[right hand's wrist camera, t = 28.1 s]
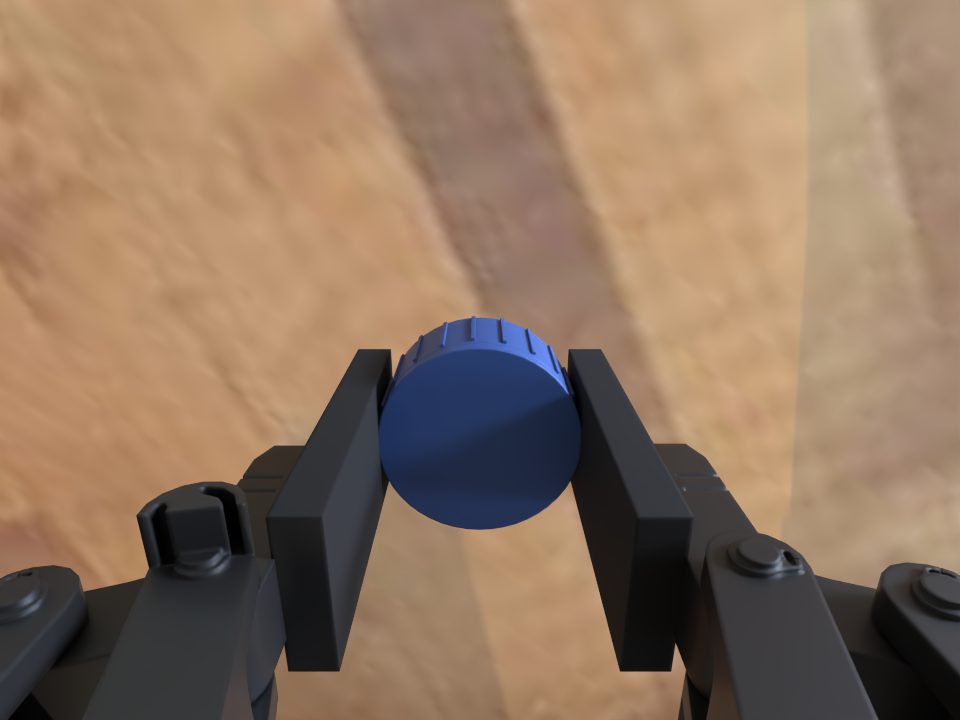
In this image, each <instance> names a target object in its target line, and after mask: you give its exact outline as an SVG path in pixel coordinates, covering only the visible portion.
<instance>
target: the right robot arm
mask: <svg viewBox="0 0 960 720" xmlns="http://www.w3.org/2000/svg"><path fill="white" fill-rule="evenodd" d="M567 375H568V377H569V380H570V383H571V386H572V388H573V391H574V394H575V397H573V399H574V402H575V405H576V408H577V411H578V414H579V417H580V421H581V441H580V455H579V463H578V466H577V469H576V471H575V473H574V475H573V477H572V479H571V484H572V488H573V492H574V496H575V500H576V503H577V507H578V511H579V515H580V519H581V523H582V526H583V530H584V534H585V538H586V542H587V546H588V550H589V553H590V557H591V561H592V565H593V569H594V573H595V577H596V580H597V584H598V588H599V592H600V596H601V600H602V604H603V607H604V611H605V615H606V619H607V623H608V627H609V631H610V634H611V638H612V642H613V646H614V650H615V654H616V658H617V661H618V665H619V669H620V671H665V672H671V669H672V662H673V656H674V649H675V642H676V645H677V647H678V650H679V652H680V655H681V658H682V660H683V663H684V665H685V668H686V673H685V679H684V685H683V691H682V698H681V704H680V710H679V716H678V720H960V575H958V574H956V573H954V572H952V571H949V570H946V569H943V568H942V569H941V568H939V567H935V566H931V565H926V564H916V563H901V564H895V565H890V566H889V567H888V568H887V569H886V570H885V571H883V572H882V573H881V576H880V580H879V583H878V587H877V589H873V588H869V587H864V586H859V585H854V584H850V583H845V582H840V581H836V580H831V579H827V578H824V577H820V576H817V575H814V573H813V571H812V569H811V567H810V566H809V564H808V563H807V562H806V560H805V559H804V558H803V556H802V555H801V554H800V553H798V552H797V551H796V550H794V549H793V548H792V547H790V546H789V545H787V544H786V543H784V542H782V541H779V540H777V539H775V538H773V537H770V536H768V535H765V534H760V533H758V532H757V531H756V529H755V528H754V527H753V525H752V524H751V522H750V521H749V519H748V518H747V516H746V515H745V514H744V512H743V511H742V509H741V508H740V506H739V505H738V503H737V502H736V501H735V499H734V498H733V496H732V495H731V493H730V492H729V491H726V486H725V485H724V483H723V482H722V480H721V479H720V478H719V477H717V473H716V472H715V470H714V469H713V467H712V466H711V465H710V463H709V462H708V460H707V459H706V457H704V456H703V455H701V454H700V453H698V452H697V451H695V450H694V449H692V448H691V447H689V446H688V445H686V444H653V442H652V440H651V438H650V436H649V435H648V433H647V431H646V429H645V427H644V426H643V424H642V422H641V420H640V418H639V417H638V415H637V413H636V411H635V410H634V408H633V406H632V404H631V402H630V401H629V399H628V397H627V395H626V393H625V392H624V390H623V388H622V386H621V384H620V383H619V381H618V379H617V377H616V375H615V374H614V372H613V370H612V368H611V366H610V365H609V363H608V361H607V359H606V357H605V356H604V354H603V352H602V350H601V349H569V354H568V372H567ZM391 377H392V361H391V349H358V351H357V353H356V355H355V357H354V358H353V360H352V362H351V364H350V366H349V367H348V369H347V371H346V373H345V375H344V376H343V378H342V380H341V382H340V384H339V385H338V387H337V389H336V391H335V393H334V394H333V396H332V398H331V400H330V402H329V403H328V405H327V407H326V409H325V411H324V412H323V414H322V416H321V418H320V420H319V421H318V423H317V425H316V427H315V428H314V430H313V432H312V434H311V436H310V437H309V439H308V441H307V443H306V445H305V446H273V447H272V448H271V449H269V450H268V451H266V452H265V453H263V454H262V455H260V456H259V457H257V458H256V459H254V461H253V462H252V463H251V465H250V466H249V468H248V469H247V471H246V472H245V474H244V475H243V479H240V481H239V482H238V484H237V485H233V484H229V483H225V482H200V483H195V484H190V485H184V486H181V487H178V488H176V489H173V490H171V491H168V492H165V493H163V494H161V495H160V496H158V497H157V498H155V499H153V500H152V501H150V502H149V503H147V504H146V505H145V506H144V507H143V509H142V510H141V511H140V512H139V513H138V514H137V515H136V516H137V520H138V524H139V528H140V533H141V537H142V541H143V545H144V549H145V553H146V557H147V561H148V566H149V570H148V572H147V574H146V577H145V578H142V579H138V580H135V581H131V582H127V583H122V584H118V585H113V586H108V587H104V588H99V589H94V590H90V591H85V592H83V588H82V585H81V582H80V578H79V576H78V575H77V574H76V573H75V572H74V571H73V570H71V569H70V568H66V567H61V566H55V565H52V566H42V567H32V568H29V569H25V570H21V571H17V572H14V573H11V574H8V575H6V576H4V577H2V578H0V720H275V719H276V711H277V702H278V693H277V686H276V679H275V673H274V670H275V668H276V665H277V662H278V660H279V657H280V654H281V652H282V649H283V647H284V645H285V652H286V658H287V665H288V671H340V667H341V664H342V660H343V656H344V652H345V648H346V644H347V641H348V637H349V633H350V629H351V625H352V621H353V617H354V614H355V610H356V606H357V602H358V598H359V594H360V590H361V587H362V583H363V579H364V575H365V571H366V567H367V563H368V560H369V556H370V552H371V548H372V544H373V540H374V537H375V533H376V529H377V525H378V521H379V517H380V513H381V510H382V506H383V502H384V498H385V494H386V490H387V486H388V483H389V480H388V478H387V476H386V474H385V472H384V469H383V467H382V464H381V460H380V447H379V432H378V425H379V419H380V416H381V413H382V410H383V409H382V408H381V403H382V401H383V398H384V395H385V392H386V390H387V387H388V384H389V381H390V379H391Z"/></svg>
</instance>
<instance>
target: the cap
mask: <svg viewBox="0 0 960 720" xmlns="http://www.w3.org/2000/svg"><path fill="white" fill-rule="evenodd" d="M573 397H575V394H574V391H573V388H572V386H571V383H570V380H569V377H568V375H567V372H566V369H565V367H563V368H562V367H561V365H560V363H559V361H558V359H557V358H556V356H555V355H554V353H553V350H552V347H551V346H550V345H549V346H547V345H546V344H545V343H544V342H543V341H541V340H540V339H539V338H538V337H537V336H535V335H534V334H532V333H531V330H530V329H528V328H527V330H526V329H524V328H522V327H520V326H518V325H515V324H512V323H509V322H506V321H504V319H500V320H497V319H490V318H475V316H472V318H468V319H463V320H457V321H454V322H450V323H447V322H445V323H444V324H443V325H442V326H440V327H438V328H436V329H434V330H432V331H430V332H429V333H427V334H426V335H424V336H423V335H421V336H420V337H419V339H418V341H417V342H416V343H415V344H414V345H413V346H412V347H411V348H410V349H409V350H408V351H407V353H406V354H405V355H404V354H402V356H401V358H400V361H399V363H398V366H397V369H396V372H395V375H394V378H392V377H391V379H390V381H389V384H388V387H387V390H386V392H385V395H384V398H383V401H382V403H381V408H382V409H383V410H382V413H381V416H380V419H379V425H378V432H379V447H380V460H381V464H382V467H383V469H384V472H385V474H386V476H387V478H388V480H389V481H390V483H391V485H392V486H393V488H394V489H395V490H396V491H397V493H398V494H399V495H400V496H401V497H402V498H403V499H404V500H405V501H406V502H407V503H408V504H409V505H410V506H412V507H413V508H414V509H416V510H417V511H418V512H420V513H422V514H423V515H425V516H427V517H429V518H431V519H433V520H435V521H438V522H440V523H443V524H446V525H450V526H453V527H458V528H464V529H476V530H482V529H495V528H501V527H506V526H510V525H513V524H517V523H519V522H522V521H524V520H527V519H529V518H531V517H532V516H534V515H536V514H538V513H540V512H541V511H542V510H544V509H545V508H547V507H548V506H549V505H550V504H551V503H553V502H554V501H555V500H556V499H557V498H558V497H559V496H560V494H561V493H562V492H563V491H564V490H565V488H566V487H567V485H568V484H569V482H570V481H571V479H572V477H573V475H574V473H575V471H576V469H577V466H578V463H579V455H580V441H581V421H580V417H579V414H578V411H577V408H576V405H575V402H574V399H573Z"/></svg>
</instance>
